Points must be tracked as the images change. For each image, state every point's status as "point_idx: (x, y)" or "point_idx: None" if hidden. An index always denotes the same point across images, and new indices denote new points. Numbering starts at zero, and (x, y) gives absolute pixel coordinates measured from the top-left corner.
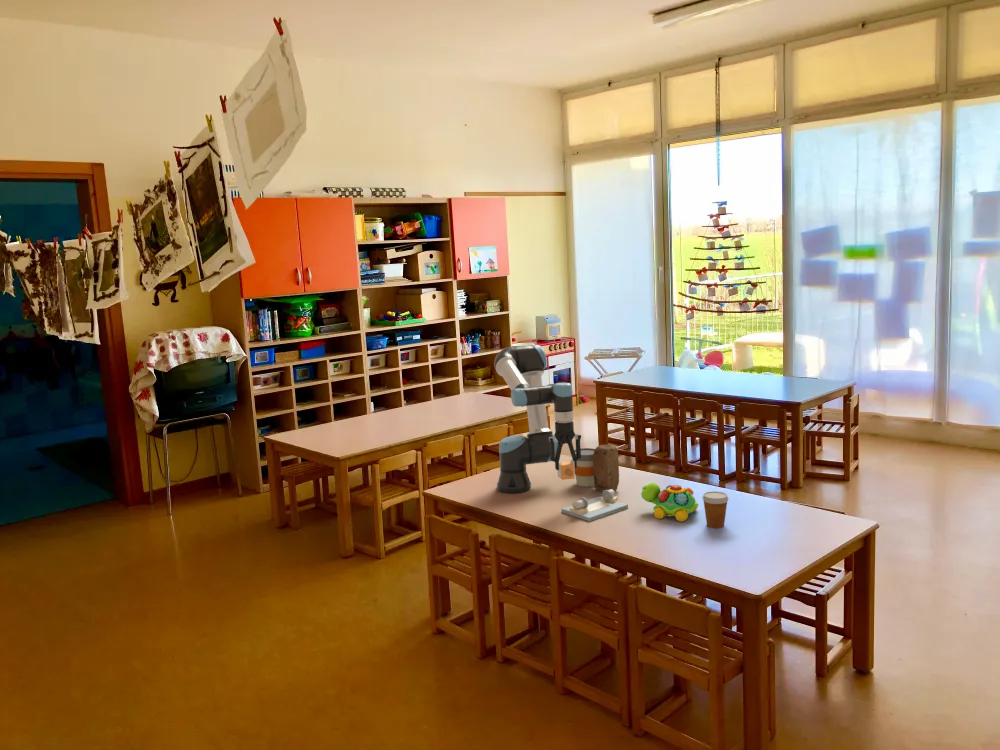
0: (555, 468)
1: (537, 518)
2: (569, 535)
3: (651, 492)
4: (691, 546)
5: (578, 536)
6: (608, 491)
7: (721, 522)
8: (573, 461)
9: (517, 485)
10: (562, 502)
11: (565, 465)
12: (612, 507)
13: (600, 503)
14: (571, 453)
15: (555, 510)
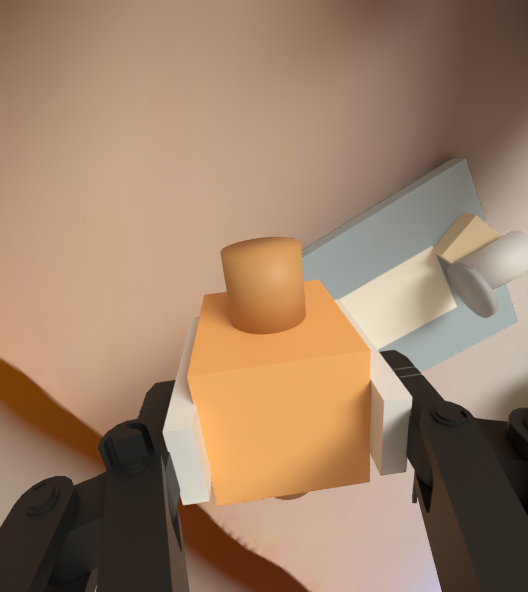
0: (149, 392)
1: (93, 359)
2: (207, 511)
3: None
4: None
5: (234, 519)
6: (495, 312)
7: None
8: (392, 471)
9: None
10: (241, 152)
11: (262, 494)
12: (440, 343)
13: (414, 285)
14: (448, 560)
15: (186, 275)
